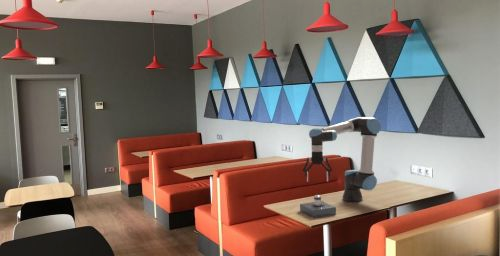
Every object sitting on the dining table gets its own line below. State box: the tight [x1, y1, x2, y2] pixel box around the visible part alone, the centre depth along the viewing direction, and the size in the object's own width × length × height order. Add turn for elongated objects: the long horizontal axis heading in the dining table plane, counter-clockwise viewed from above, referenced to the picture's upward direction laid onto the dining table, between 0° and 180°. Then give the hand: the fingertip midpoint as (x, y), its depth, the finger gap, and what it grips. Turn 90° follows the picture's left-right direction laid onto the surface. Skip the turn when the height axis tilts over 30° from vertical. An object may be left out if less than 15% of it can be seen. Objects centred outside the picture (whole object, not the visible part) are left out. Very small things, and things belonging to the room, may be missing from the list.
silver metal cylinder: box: [313, 194, 322, 207], centre depth 285 cm, size 5×5×12 cm
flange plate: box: [299, 200, 337, 219], centre depth 285 cm, size 18×18×5 cm
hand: (317, 181), depth 284 cm, fingers open, 13 cm apart
